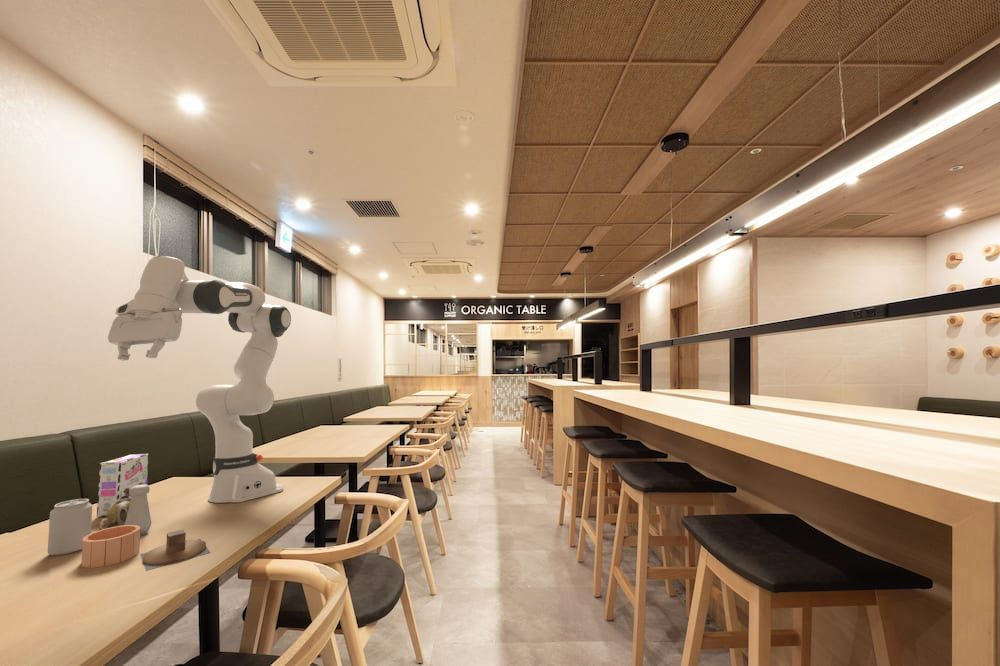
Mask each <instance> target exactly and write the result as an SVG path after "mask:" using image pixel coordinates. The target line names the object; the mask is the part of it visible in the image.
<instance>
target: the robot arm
mask: <svg viewBox="0 0 1000 666" xmlns="http://www.w3.org/2000/svg"><path fill="white" fill-rule="evenodd" d="M185 266H186V265H185V262H184V261H183V260H181V259H179V258H176V257H173V256H168V255H166V256H165V255H158V256H153V257H151V258H150V260H148V262H147V264H146V265H145V266H144V270H143V272H142V273H141V274H142V275H141V277H140V280H139V285H140V286H139V288H138V291H136V293H135V294H134V297H133V299H130V300H129V301H128V302H126V303H125V304H122V305H120V306H118V307H117V308H116V310H115V313H114V314H115V315H117V316H116V317H115V318H114V319H113V320H112V323H111V326H110V329H109V333H108V336H107V340H108V342H109V343H110V344H113V345H115V346H117V350H118V354H117V360H119V361H128V360H129V359H130V357H131V354H130V353H129V350H130V348H131V346H136V345H146V344H147V345H148V344H149V345H150V344H152V346H151V348H150V349H147V350H146V354H145V357H146V358H148V359H157V357H158V355H159V352H160V351H161V350H162V349H163V348H164V346H165V345H166V343H171V342H176V341H177V340H179V338H180V335H181V331H182V326H183V318H182V316H183V314H212V315H221V314H223V313H225V312H227V313H228V317H227V318H228V319H227V320H228V321H227V322H228V324H229V326H230V327H231V329H232V330H233V331H235V332H238V333H243V334H245V333H250V334H251V337H250V338H249V340H248V341H247V342H246V343H245V345H244V347H243V349H242V350H241V353H240V354H239V356H238V358H237V360H236V362H235V364H234V365H233V371H234V374H235V375H236V377H237V378H238V379H239V380H240V381H239V382H238V383H235V384H231V383H230V384H229V383H228V384H227V383H226V384H215V385H209V386H205V387H204V388H202V389H201V390H199V392H198V393H197V395H196V398H195V404H196V408H197V410H198V411H199V412H200V413H201V414H203V415H204V416H205V417H206V418H207V419H208V421H209V423H210V424H211V426H212V429H213V433H214V439H215V440H214V442H215V443H214V445H215V456H214V457H213V462H212V463H213V464H212V473H213V480H212V486H211V489H210V494H209V496H208V500H207V501H208V502H210V503H216V504H217V503H220V504H221V503H223V504H225V503H243V502H245V501H250V500H254V499H258V498H261V497H265V496H269V495H273V494H276V493H280V492H282V491H283V490H284V489H283V485H282V484H281V483H279V482H277V479H276V475H275V473H274V472H273V471H272V470H271V469H269V468H267V467H265V466H264V465H262V464H261V463H259V462H260V461H262V460H263V459H264V455H261V454H258V453H255V452H253V444H254V440H253V439H254V435H253V434H254V433H253V431H252V429H251V428H250V427H248V426H246V425H245V424H244V423H243V422H242V421H241V419H240V416H255V415H260V414H264V413H267V412H268V411H270V410H271V408H272V407H273V404H274V402H275V395H274V391H273V390H272V388H271V387H270V386H268V384H267V382H266V380H267V375H268V372H269V370H270V368H271V365H272V363H273V361H274V359H275V357H276V353H277V349H278V344H279V342H278V341H279V340H278V338H280V337H282V336H283V335H284V333H285V332H286V331H287V330H288V329H289V327H290V325H291V323H292V318H291V317H292V315H291V313H290V310H289V309H288V308H287V307H286V306H284V305H283V306H282V305H279V304H275V305H273V304H265V302H266V293H265V292H264V291H263V290H262V288H261V287H259V286H257V285H254V284H251V283H247V282H243V281H241V282H240V281H230V282H229V281H228V282H224V281H221V280H219V279H210V280H209V279H208V280H190V279H189V278H188V276H187V275H186V272H185Z"/></svg>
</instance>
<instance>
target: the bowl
mask: <svg viewBox="0 0 1000 666" xmlns="http://www.w3.org/2000/svg"><path fill="white" fill-rule="evenodd" d="M140 542H141V536H140V526H139V525H123V526H116V527H111V528H106V529H102V530H97V531H93V532H91V533H90V534H88V535H87V536H85V537H83V543H82V550H81V567H82V568H86V569H87V568H88V569H94V568H100V567H108V566H112V565H115V564H119V563H122V562H125V561H126V560H129V559H132V558H133V557H135V556H137V555H138V554H139V553H140V547H141V546H140V544H141V543H140Z"/></svg>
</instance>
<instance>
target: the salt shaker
mask: <svg viewBox="0 0 1000 666" xmlns="http://www.w3.org/2000/svg"><path fill="white" fill-rule="evenodd" d="M150 490H151V489H150V485H149V484H147V485H146V484H142V485H136V486H133V487H131V488H130V491H129V495H130V496H132V499H131V502H130V506H129V510H128V514H127V518H126V522H125V525H139V526H140V537H141V536H144V535H147V534H148V533H149V531H150V528H151V526H152V518H151V513H150V507H149V501H148V495H147V494H149V493H150Z"/></svg>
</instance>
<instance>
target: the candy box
mask: <svg viewBox="0 0 1000 666" xmlns="http://www.w3.org/2000/svg"><path fill="white" fill-rule="evenodd" d="M148 473H149V453H139V454H128V455H125V456H122V457H119V458H115V459H111V460H108V461H105V462H100V463H99V474H98V486H97V487H98V490H97V507H96V518H103V517H104V518H106V516H107V511H108V510H109V508H110V507H111V505H112V504H113V503H114V502H115V501H116V500H118V499H119V498H121V497H122V496H123V495H126V496H130V495H129V491H130V488H131V487H133V486H136V485H142V484H146V485H148ZM130 497H132V496H130Z"/></svg>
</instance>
